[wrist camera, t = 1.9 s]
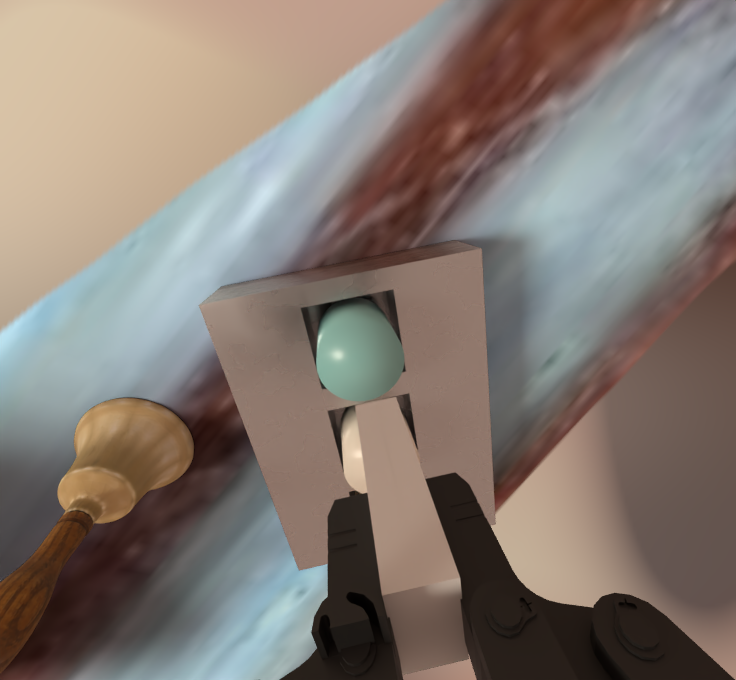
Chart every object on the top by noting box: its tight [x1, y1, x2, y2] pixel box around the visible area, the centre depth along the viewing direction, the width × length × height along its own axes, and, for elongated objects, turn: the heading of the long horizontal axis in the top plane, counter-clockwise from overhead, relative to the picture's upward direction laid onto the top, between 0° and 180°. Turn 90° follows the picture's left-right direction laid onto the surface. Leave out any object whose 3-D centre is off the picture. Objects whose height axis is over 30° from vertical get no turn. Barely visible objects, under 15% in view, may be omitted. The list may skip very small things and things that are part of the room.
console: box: [199, 240, 496, 570], centre depth 26 cm, size 16×22×4 cm
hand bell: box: [0, 398, 194, 674], centre depth 20 cm, size 8×8×16 cm
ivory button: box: [340, 398, 420, 494], centre depth 23 cm, size 5×5×4 cm
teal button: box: [316, 298, 405, 401], centre depth 20 cm, size 5×5×4 cm
